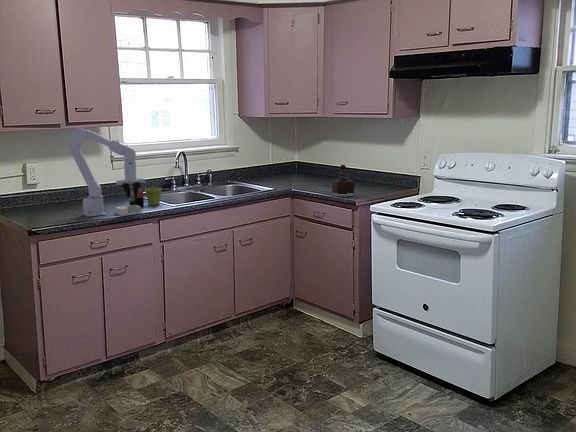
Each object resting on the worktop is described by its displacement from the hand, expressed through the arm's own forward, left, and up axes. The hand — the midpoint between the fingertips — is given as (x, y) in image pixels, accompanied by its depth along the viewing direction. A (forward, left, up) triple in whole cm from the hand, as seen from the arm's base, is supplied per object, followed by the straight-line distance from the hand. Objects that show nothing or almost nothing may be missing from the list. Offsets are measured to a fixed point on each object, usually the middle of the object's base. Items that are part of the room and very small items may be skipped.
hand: (131, 197), depth 301 cm
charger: (-2, 0, -8) cm, 8 cm away
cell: (0, 0, -2) cm, 2 cm away
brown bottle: (+125, -20, -8) cm, 126 cm away
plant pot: (+18, +15, -8) cm, 25 cm away
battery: (+7, +12, -8) cm, 16 cm away
